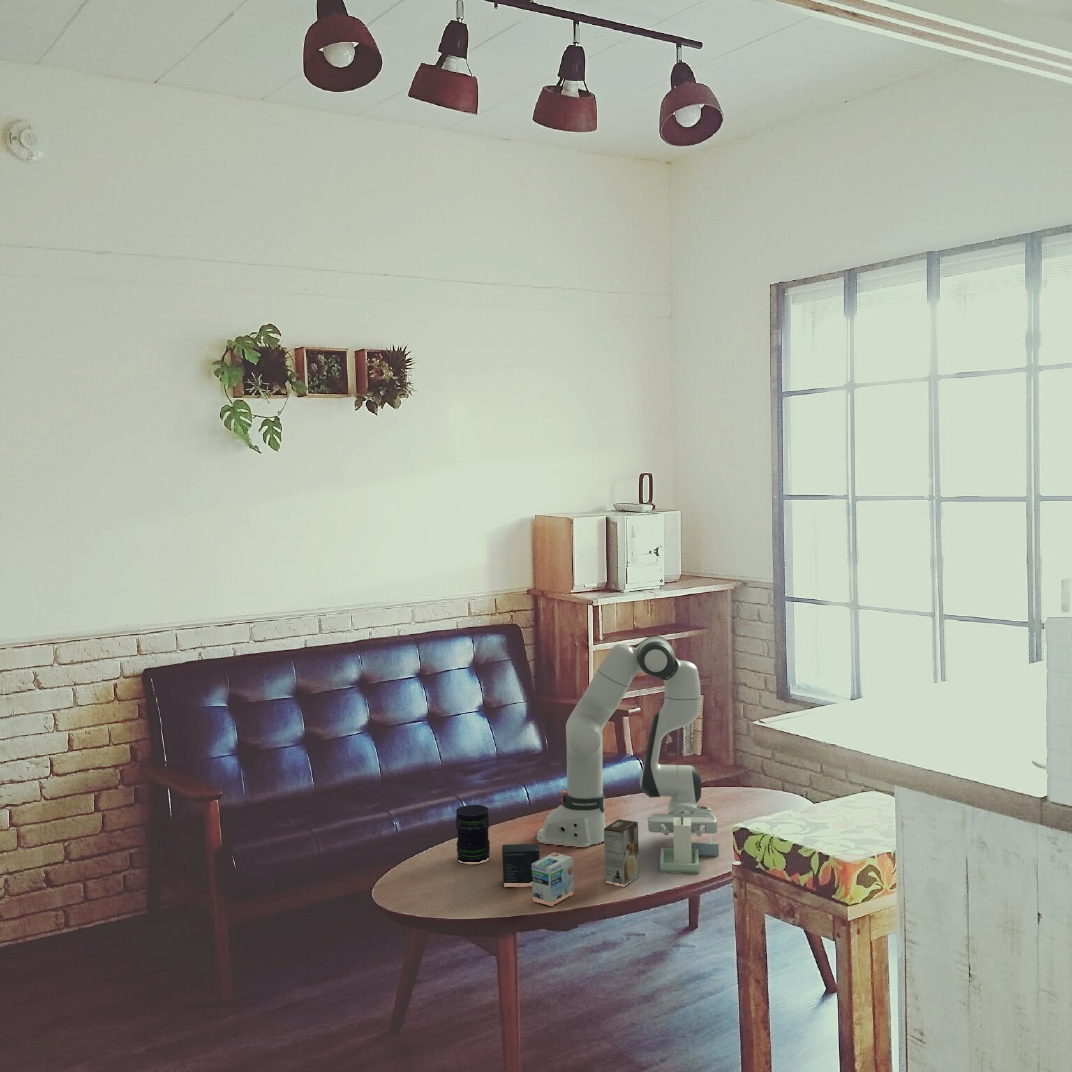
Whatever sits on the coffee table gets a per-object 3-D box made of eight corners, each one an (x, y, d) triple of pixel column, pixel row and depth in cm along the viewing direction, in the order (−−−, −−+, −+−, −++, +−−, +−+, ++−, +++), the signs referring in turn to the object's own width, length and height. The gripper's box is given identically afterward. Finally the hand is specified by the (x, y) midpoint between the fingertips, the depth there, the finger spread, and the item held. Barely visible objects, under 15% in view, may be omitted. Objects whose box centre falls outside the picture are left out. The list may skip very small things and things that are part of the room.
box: (540, 878, 319) (539, 842, 318) (540, 887, 312) (540, 851, 311) (503, 879, 319) (502, 843, 318) (502, 888, 312) (501, 852, 311)
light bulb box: (551, 908, 298) (550, 868, 297) (531, 902, 302) (530, 863, 301) (574, 894, 306) (573, 856, 306) (554, 889, 311) (553, 851, 310)
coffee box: (619, 873, 321) (618, 818, 320) (639, 877, 318) (638, 821, 317) (604, 884, 314) (603, 827, 312) (625, 888, 310) (624, 831, 309)
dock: (681, 854, 334) (681, 843, 334) (681, 844, 343) (681, 833, 343) (718, 855, 333) (718, 844, 333) (717, 845, 341) (717, 834, 341)
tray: (660, 872, 321) (660, 864, 321) (660, 856, 334) (660, 848, 334) (699, 873, 320) (699, 864, 319) (698, 857, 332) (698, 848, 332)
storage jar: (455, 865, 331) (453, 815, 329) (458, 853, 340) (457, 805, 339) (489, 864, 330) (487, 815, 329) (491, 852, 340) (490, 804, 339)
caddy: (674, 866, 323) (673, 819, 322) (674, 857, 330) (673, 811, 329) (691, 866, 323) (691, 819, 322) (691, 857, 330) (690, 811, 329)
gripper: (647, 806, 340) (646, 821, 326) (716, 807, 337) (717, 822, 323) (647, 826, 340) (646, 842, 326) (716, 828, 338) (718, 844, 324)
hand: (682, 832), depth 325 cm, fingers open, 8 cm apart
